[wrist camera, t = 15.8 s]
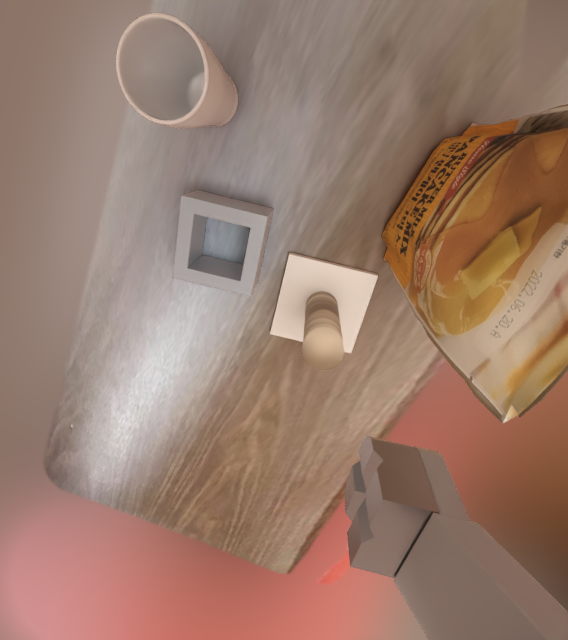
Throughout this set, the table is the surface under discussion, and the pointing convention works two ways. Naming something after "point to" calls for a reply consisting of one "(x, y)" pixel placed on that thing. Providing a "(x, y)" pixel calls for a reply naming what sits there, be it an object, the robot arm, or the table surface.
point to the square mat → (324, 276)
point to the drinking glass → (173, 74)
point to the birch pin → (322, 332)
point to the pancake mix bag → (492, 257)
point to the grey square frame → (192, 235)
